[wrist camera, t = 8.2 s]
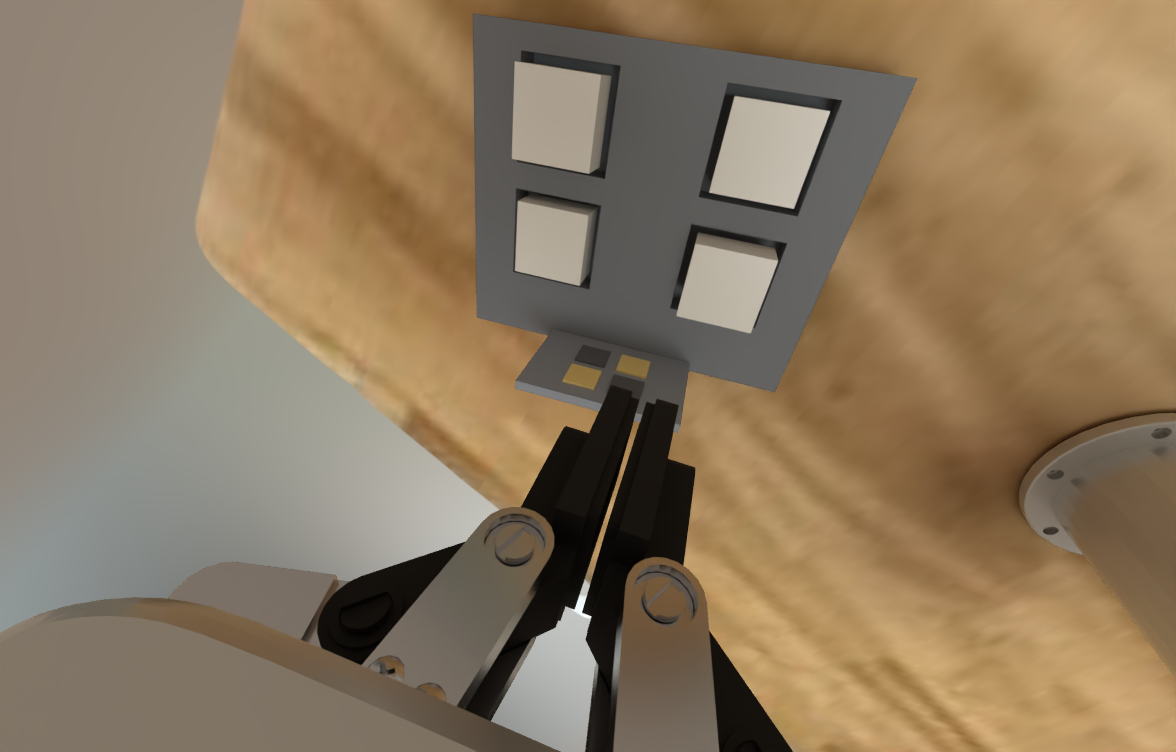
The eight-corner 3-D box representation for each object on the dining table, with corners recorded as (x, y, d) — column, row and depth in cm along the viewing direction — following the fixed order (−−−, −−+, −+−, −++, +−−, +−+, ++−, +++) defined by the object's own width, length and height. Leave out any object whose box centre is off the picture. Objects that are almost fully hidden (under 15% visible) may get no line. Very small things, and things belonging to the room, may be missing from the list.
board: (897, 78, 23) (917, 78, 21) (771, 369, 33) (774, 392, 31) (497, 20, 26) (473, 13, 24) (493, 301, 36) (476, 317, 34)
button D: (598, 206, 29) (588, 215, 27) (589, 273, 31) (579, 285, 29) (531, 193, 29) (517, 201, 28) (528, 259, 32) (515, 270, 30)
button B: (611, 76, 24) (601, 75, 22) (599, 167, 26) (589, 173, 25) (531, 63, 25) (514, 61, 23) (527, 153, 27) (511, 158, 25)
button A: (822, 109, 23) (830, 111, 21) (789, 199, 26) (793, 208, 24) (734, 95, 24) (735, 96, 22) (710, 184, 26) (709, 192, 25)
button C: (774, 248, 26) (778, 261, 24) (749, 316, 29) (750, 333, 27) (698, 232, 27) (695, 243, 25) (679, 300, 30) (676, 316, 28)
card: (690, 361, 31) (680, 422, 26) (687, 370, 32) (677, 432, 26) (553, 327, 33) (515, 378, 27) (552, 336, 33) (515, 388, 27)
